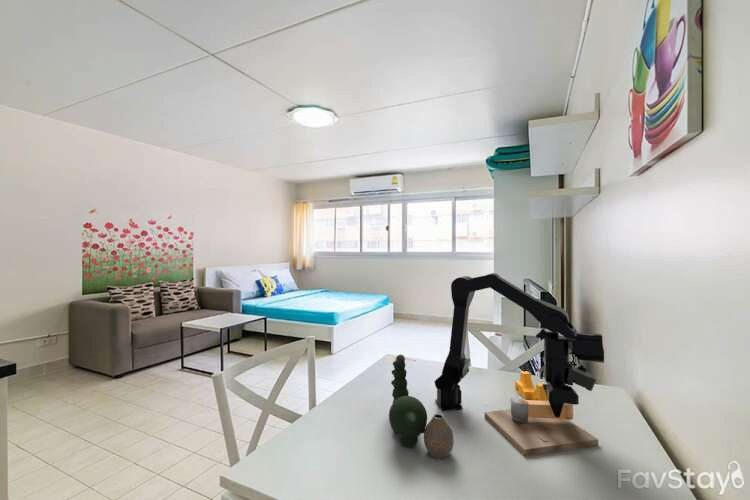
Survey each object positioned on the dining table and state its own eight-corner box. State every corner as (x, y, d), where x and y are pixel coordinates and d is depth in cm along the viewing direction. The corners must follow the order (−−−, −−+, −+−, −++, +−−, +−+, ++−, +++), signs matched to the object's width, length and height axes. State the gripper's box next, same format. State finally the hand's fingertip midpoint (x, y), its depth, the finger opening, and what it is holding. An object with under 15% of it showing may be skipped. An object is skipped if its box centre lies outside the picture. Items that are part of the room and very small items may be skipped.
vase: (455, 447, 81) (454, 411, 81) (452, 465, 74) (451, 426, 74) (426, 442, 83) (426, 407, 83) (421, 459, 76) (421, 421, 76)
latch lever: (513, 418, 88) (513, 405, 88) (508, 410, 93) (508, 397, 93) (576, 421, 87) (576, 407, 87) (568, 413, 91) (568, 400, 91)
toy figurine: (383, 416, 99) (392, 461, 75) (382, 351, 101) (391, 374, 76) (415, 415, 100) (434, 460, 75) (413, 350, 102) (432, 373, 77)
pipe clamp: (515, 390, 113) (515, 371, 113) (527, 390, 113) (527, 371, 113) (534, 407, 101) (534, 386, 101) (548, 407, 101) (548, 385, 101)
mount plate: (524, 455, 77) (524, 444, 77) (484, 417, 95) (484, 407, 95) (598, 445, 81) (598, 434, 81) (546, 410, 99) (546, 401, 99)
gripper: (603, 371, 75) (605, 441, 75) (582, 349, 93) (583, 406, 93) (548, 366, 79) (549, 432, 79) (538, 346, 97) (539, 400, 96)
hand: (557, 416), depth 87 cm, fingers closed
